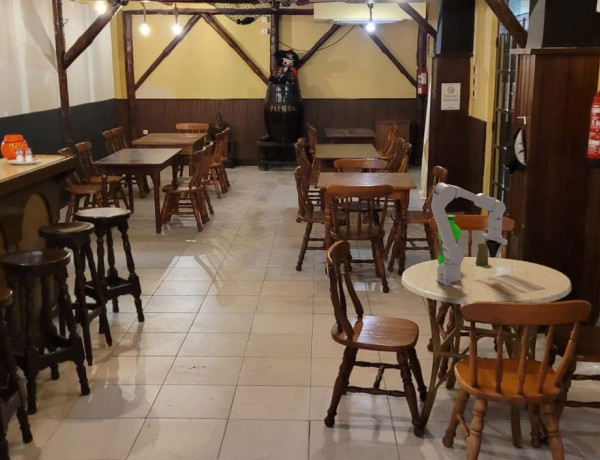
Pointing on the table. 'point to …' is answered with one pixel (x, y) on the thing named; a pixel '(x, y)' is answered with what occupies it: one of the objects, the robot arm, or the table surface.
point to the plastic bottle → (456, 234)
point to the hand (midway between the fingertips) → (492, 257)
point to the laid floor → (498, 287)
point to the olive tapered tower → (482, 254)
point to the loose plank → (521, 282)
